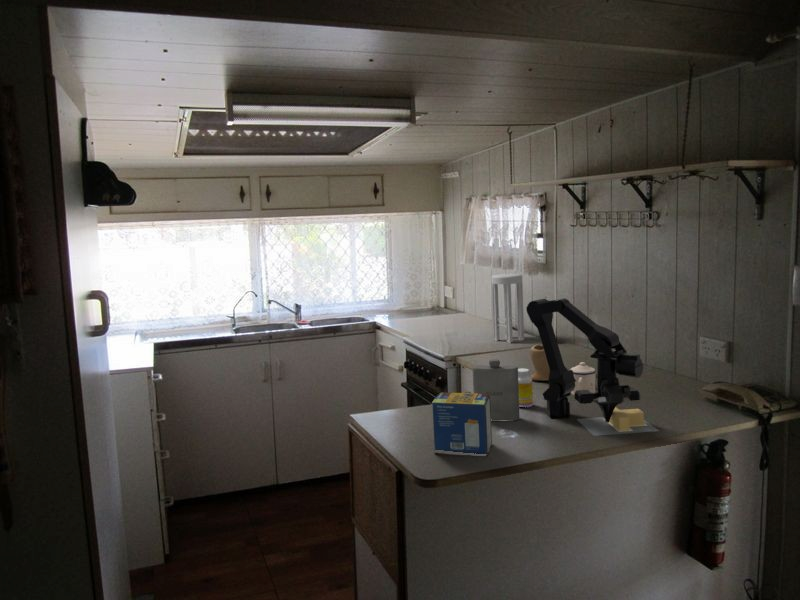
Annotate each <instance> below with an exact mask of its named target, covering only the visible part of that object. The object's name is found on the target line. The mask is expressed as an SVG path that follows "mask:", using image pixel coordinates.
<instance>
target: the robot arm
mask: <svg viewBox="0 0 800 600" xmlns="http://www.w3.org/2000/svg"><path fill="white" fill-rule="evenodd" d="M525 310H526V313H527V315H528V316H527V317H528V318H529V320H530V322H531V323H532V324H533V325H534V326H535V328H536V329H537V333H538V334H539V338H540V342H541V344H542V346H543V349H544V352H545V356H546V359H547V362H548V366H549V369H550V372H549V378H548V381H547V382H548V388H547V389H546V390H545V391H544V392H543V393H542V396H543V400H545V401H546V411H545V415H546V416H547V417H548V418H549V419H551V420H558V419H559V420H560V419H570V418H571V416H570V414H571V405H570V404H571V403H570V401H569V397H570V396H571V395H572V393H571V392H572V391H573V390H574V388H575V382H576V380H575V378H574V374H573V371H572V370H570V369H569V370H568V368H567V367H566V366H565V364H564V360H563V357H562V354H561V350H560V348H559V347H560V346H559V344H558V340H557V337H556V334H555V331H554V328H553V318H554V313H559V314H560V315H561V316H562V317H563V318H565V319H566V320H567V321H569V322H570V323H571V324H572V325H573V326H575V328H577V329H578V330H579V331H580V332H582V334H584V335H585V336H586V338H587V339H588V342H589V343H590V345H591V346H592V347H593V348H594V349H595V351H594V352H593V353H592V354H591V355H590V356H589V357H590V358H591V359H596V361H597V362H596V364H597V365H596V366H597V367H596V371H597V372H596V373H595V379H597V382H596V383H597V386H595V393H591V392H590V391H588V390H577V391H576V392H575V395H574V399H575V400H576V401H577V402H578V403H579V404H582V405H585V404H592V402H594V403H596V404H597V405H598V407H599V409H600V411H601V413H602V417H604V418H605V421H606V422H609V421H610V418H611V416H612V413H613V411H614V409H615V407H616V408H617V406H618V405H621V404H622V403H623V402H624V400H625V399H626V398H627V399H628V400H629V401H631V402H633V401H640V400H641V393H640V391H639V390H638V389H636V388H634V387H633V386H629V384H627V385H620V380H619V377H618V375H619V376H624V377H631V378H636V379H637V378H638V379H639V378H641V376H642V375H643V371H644V363H643V361H642V360H643V359H641V357H640V356H641V355H640V354H638V353H637V354H636V353H634V354H632V353H628V352H627V350H626V349H625V347H624V346H623V343H621V340H620V337H619V335H618V334H617V333H615V332H614V331H612V330H611V329H609V328H607V327H604V326H601V325H599V324H598V323H596V322H595V321H593V320H592V319H591V318H589V317H588V316H587V315H585V313H584V312H582V311H581V310H580V309H579V308H577V307H576V306H575V305H573V303H571V301H570V300H569V299H567V298H560V299H553V300H548V299H546V298H540V299H535V300H532V301H530V302H528V304H527V306H526V309H525ZM613 350H614V351H613Z"/></svg>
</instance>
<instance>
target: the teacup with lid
mask: <svg viewBox="0 0 800 600" xmlns="http://www.w3.org/2000/svg"><path fill="white" fill-rule="evenodd" d="M569 370H572V371H573V374H574V378H575V380H576V382H575V388H574V390H573V391H572V392H571V395H573V396H575V392H576V391H577V390H588V391H590V392H591V393H596V373H597V372H596V371H597V370H596V368H594V367H591V366H589V365H587V364H586V362H585V361H584V362H582V361H581V362H579V364H578V365H575V366H573V367H571V368H570V369H569Z"/></svg>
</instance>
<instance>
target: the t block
mask: <svg viewBox="0 0 800 600" xmlns="http://www.w3.org/2000/svg"><path fill="white" fill-rule="evenodd" d="M644 413H645V412H644V411H643V410H641V409H639V408H629V409H628V408H627V409H619V408H618V407H617V406H616V407H615V409H614V411H613V413H612V416H611V418H610V421H609V422H610V423H611V424H612V425H613V426H615V427H616V428H617V429H618V430H619V431H624V430H629V426H636V425H644V420H645V414H644Z"/></svg>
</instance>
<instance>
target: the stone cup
mask: <svg viewBox="0 0 800 600" xmlns="http://www.w3.org/2000/svg"><path fill="white" fill-rule="evenodd" d="M529 354H530V360H531V362H532V364H533V367H534V371H535V372H533V373H531V375H529V377H531V378H532V381H533V380H534V381H542V382H543V381H546V382H549V381H548V378H549V372H550V369H549V366H548V362H547V359H546V356H545V352H544V349H543V346H542V343H538V344H535V345H533V346H531V348H530V350H529Z"/></svg>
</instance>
